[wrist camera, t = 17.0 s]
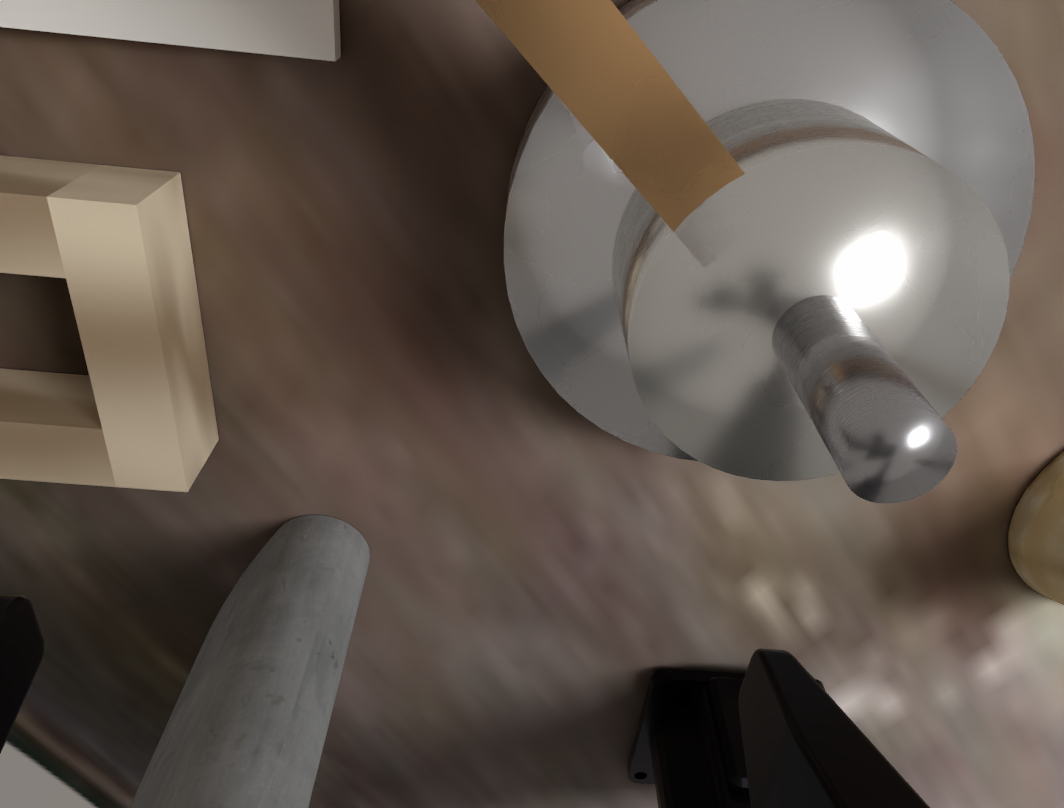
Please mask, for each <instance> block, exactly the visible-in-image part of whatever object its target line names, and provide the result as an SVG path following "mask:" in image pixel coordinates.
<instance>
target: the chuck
mask: <svg viewBox="0 0 1064 808" xmlns="http://www.w3.org/2000/svg"><path fill="white" fill-rule="evenodd" d="M475 1H476V2H477V3H478V4H479V5H480V6H481V8H482V9H483V10H484V11H485V12H486V13H487V15H488V16H489V17H490V18H491V19H492V20H493V22H494V23H495V24H496V25H497V26H498V27H499V29H500V30H501V31H502V32H503V33H504V34H505V36H506V37H507V38H508V39H509V40H510V41H511V43H512V44H513V45H514V46H515V47H516V49H517V50H518V51H519V52H520V53H521V54H522V56H523V57H524V58H525V59H526V60H527V61H528V63H529V64H530V65H531V66H532V67H533V68H534V70H535V71H536V72H537V73H538V74H539V75H540V77H541V78H542V79H543V80H544V81H545V82H546V84H547V85H548V86H549V87H550V88H551V89H552V91H553V92H554V93H555V94H556V95H557V96H558V98H559V99H560V100H561V101H562V102H563V103H564V105H565V106H566V107H567V108H568V109H569V110H570V112H571V113H572V114H573V115H574V116H575V117H576V119H577V120H578V121H579V122H580V123H581V124H582V126H583V127H584V128H585V129H586V130H587V132H588V133H589V134H590V135H591V136H592V137H593V139H594V140H595V141H596V142H597V143H598V144H599V146H600V147H601V148H602V149H603V150H604V151H605V153H606V154H607V155H608V156H609V157H610V158H611V160H612V161H613V162H614V163H615V164H616V165H617V167H618V168H619V169H620V170H621V171H622V172H623V174H624V175H625V176H626V177H627V178H628V179H629V181H630V182H631V183H632V184H633V185H634V186H635V188H636V189H635V190H634V192H633V194H632V195H631V197H630V199H629V201H628V204H627V206H626V208H625V210H624V212H623V214H622V217H621V220H620V224H619V227H618V230H617V233H616V238H615V244H614V249H613V261H612V276H613V286H614V293H615V297H616V302H617V307H618V311H619V316H620V320H621V325H622V329H623V334H624V339H625V343H626V348H627V352H628V357H629V362H630V366H631V371H632V374H633V378H634V382H635V386H636V389H637V392H638V394H639V396H640V399H641V401H642V403H643V406H644V407H645V409H646V411H647V412H648V414H649V415H650V417H651V419H652V420H653V422H654V423H655V424H656V426H657V427H658V428H659V429H660V430H661V431H662V432H663V434H664V435H665V436H666V437H667V438H668V439H669V440H670V441H672V442H673V443H674V444H675V445H676V446H677V447H679V448H680V449H681V450H682V451H684V452H685V453H687V454H689V455H690V456H692V457H693V458H695V459H696V460H698V461H700V462H702V463H704V464H707V465H709V466H711V467H713V468H715V469H718V470H721V471H724V472H727V473H730V474H733V475H737V476H742V477H747V478H752V479H760V480H772V481H794V480H805V479H814V478H821V477H825V476H830V475H834V474H839V473H841V474H842V476H843V478H844V480H845V482H846V483H847V485H848V487H849V488H850V489H851V491H853V492H854V493H855V494H856V495H857V496H859V497H861V498H863V499H865V500H868V501H871V502H876V503H897V502H902V501H906V500H910V499H913V498H915V497H918V496H920V495H922V494H924V493H926V492H927V491H929V490H930V489H932V488H933V487H935V486H936V485H937V484H938V483H939V482H940V481H941V480H942V479H943V478H944V477H945V476H946V475H947V474H948V472H949V471H950V469H951V467H952V465H953V463H954V461H955V458H956V452H957V444H956V439H955V437H954V434H953V433H952V431H951V430H950V428H949V427H948V426H947V425H946V423H945V422H944V421H943V420H942V418H943V417H944V416H945V415H946V414H947V413H948V412H949V411H950V410H951V409H952V408H953V407H954V406H955V405H956V404H957V403H958V402H959V401H960V400H961V398H962V397H963V396H964V395H965V393H966V392H967V391H968V390H969V388H970V387H971V386H972V385H973V383H974V382H975V381H976V379H977V378H978V376H979V374H980V373H981V371H982V370H983V368H984V367H985V365H986V363H987V362H988V360H989V358H990V356H991V354H992V351H993V349H994V347H995V345H996V343H997V341H998V338H999V335H1000V332H1001V329H1002V326H1003V323H1004V320H1005V316H1006V310H1007V305H1008V300H1009V284H1010V272H1009V263H1008V255H1007V250H1006V247H1005V244H1004V240H1003V237H1002V234H1001V231H1000V229H999V227H998V225H997V223H996V221H995V219H994V217H993V215H992V213H991V211H990V210H989V208H988V207H987V206H986V204H985V203H984V202H983V200H982V199H981V198H980V196H979V195H978V194H977V193H976V192H975V191H974V190H973V189H972V188H971V187H970V186H969V185H968V184H967V183H966V182H965V181H963V180H962V179H961V178H960V177H959V176H957V175H956V174H954V173H953V172H951V171H949V170H948V169H946V168H945V167H943V166H942V165H940V164H939V163H937V162H935V161H934V160H932V159H931V158H929V157H927V156H926V155H924V154H923V153H921V152H919V151H918V150H916V149H914V148H913V147H911V146H910V145H908V144H906V143H905V142H903V141H902V140H900V139H898V138H897V137H895V136H894V135H892V134H890V133H889V132H887V131H886V130H884V129H882V128H881V127H879V126H877V125H876V124H874V123H873V122H871V121H869V120H868V119H866V118H865V117H863V116H861V115H859V114H857V113H855V112H853V111H850V110H848V109H846V108H843V107H841V106H837V105H833V104H830V103H826V102H822V101H815V100H806V99H776V100H770V101H764V102H758V103H753V104H749V105H746V106H743V107H739V108H736V109H733V110H730V111H728V112H726V113H723V114H721V115H719V116H716V117H714V118H712V119H710V120H708V121H707V122H705V121H704V120H703V119H702V117H701V116H700V115H699V113H698V112H697V111H696V110H695V108H694V107H693V106H692V104H691V103H690V102H689V101H688V99H687V98H686V97H685V95H684V94H683V93H682V91H681V90H680V89H679V88H678V86H677V85H676V84H675V82H674V81H673V80H672V79H671V77H670V76H669V75H668V73H667V72H666V71H665V69H664V68H663V67H662V66H661V64H660V63H659V62H658V60H657V59H656V58H655V56H654V55H653V54H652V53H651V51H650V50H649V49H648V47H647V46H646V45H645V44H644V42H643V41H642V40H641V38H640V37H639V36H638V34H637V33H636V32H635V31H634V29H633V28H632V27H631V25H630V24H629V23H628V22H627V20H626V19H625V18H624V16H623V15H622V14H621V12H620V11H619V10H618V9H617V7H616V6H615V5H614V3H613V2H612V1H611V0H475Z"/></svg>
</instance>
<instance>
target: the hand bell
mask: <svg viewBox="0 0 1064 808" xmlns="http://www.w3.org/2000/svg"><path fill="white" fill-rule="evenodd" d="M1008 549H1009V554H1010V558H1011V562H1012V564H1013V566H1014V568H1015V570H1016V572H1017V573H1018V575H1019V576H1020V577H1021V578H1022V579H1023V581H1024V582H1025V583H1026V584H1027V585H1028V586H1030V587H1031V588H1032V589H1034V590H1035V591H1037V592H1038V593H1040V594H1042V595H1044V596H1046V597H1048V598H1050V599H1052V600H1054V601H1056V602H1058V603H1061V604H1063V605H1064V451H1063V452H1062V453H1061V454H1060V455H1059V456H1057V457H1056V458H1055V459H1054V460H1053V461H1052V462H1051V463H1050V464H1049V465H1047V466H1046V467H1045V468H1044V469H1043V471H1042V472H1041V473H1040V474H1039V475H1038V476H1037V477H1036V478H1035V479H1034V481H1033V482H1032V483H1031V484H1030V485H1029V486H1028V488H1027V489H1026V491H1025V492H1024V494H1023V496H1022V497H1021V499H1020V501H1019V502H1018V504H1017V506H1016V508H1015V510H1014V513H1013V516H1012V519H1011V522H1010V527H1009V533H1008Z"/></svg>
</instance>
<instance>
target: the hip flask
mask: <svg viewBox="0 0 1064 808" xmlns="http://www.w3.org/2000/svg"><path fill="white" fill-rule="evenodd" d="M369 560H370V551H369V547H368V544H367V542H366V540H365V539H364V537H363V536H362V535H361V534H360V533H359V532H358V531H357V530H356V529H355V528H354V527H352V526H351V525H349V524H348V523H346V522H344V521H342V520H339V519H336V518H333V517H330V516H324V515H306V516H300V517H297V518H294V519H292V520H290V521H288V522H286V523H285V524H284V525H282V526H281V527H280V528H279V529H278V531H277V532H276V533H275V534H274V535H273V536H272V537H271V539H270V540H269V541H268V542H267V543H266V544H265V546H264V547H263V548H262V549H261V551H260V552H259V553H258V554H257V556H256V557H255V558H254V559H253V561H252V562H251V563H250V565H249V566H248V567H247V568H246V570H245V571H244V573H243V574H242V576H241V577H240V579H239V580H238V582H237V583H236V585H235V586H234V588H233V589H232V591H231V592H230V594H229V596H228V597H227V599H226V600H225V602H224V604H223V605H222V607H221V609H220V611H219V613H218V614H217V616H216V618H215V620H214V622H213V624H212V626H211V628H210V630H209V632H208V634H207V636H206V638H205V640H204V643H203V645H202V647H201V649H200V651H199V654H198V656H197V658H196V660H195V662H194V665H193V667H192V669H191V671H190V674H189V676H188V678H187V680H186V683H185V685H184V687H183V689H182V692H181V694H180V696H179V698H178V700H177V703H176V705H175V707H174V709H173V712H172V714H171V716H170V718H169V721H168V723H167V725H166V727H165V730H164V732H163V734H162V736H161V738H160V741H159V743H158V745H157V747H156V750H155V752H154V754H153V756H152V759H151V761H150V763H149V765H148V768H147V770H146V772H145V774H144V776H143V779H142V781H141V783H140V785H139V788H138V790H137V792H136V794H135V797H134V799H133V801H132V803H131V806H130V808H308V807H309V803H310V799H311V794H312V790H313V786H314V782H315V778H316V774H317V770H318V766H319V762H320V758H321V754H322V750H323V746H324V742H325V738H326V734H327V730H328V726H329V722H330V718H331V714H332V710H333V706H334V702H335V698H336V694H337V690H338V686H339V682H340V678H341V674H342V670H343V666H344V662H345V658H346V653H347V649H348V645H349V641H350V637H351V633H352V629H353V625H354V621H355V617H356V613H357V609H358V605H359V601H360V597H361V593H362V589H363V585H364V581H365V577H366V573H367V569H368V565H369Z"/></svg>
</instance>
